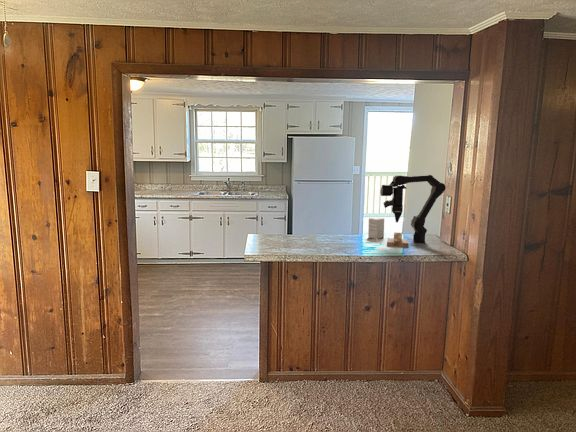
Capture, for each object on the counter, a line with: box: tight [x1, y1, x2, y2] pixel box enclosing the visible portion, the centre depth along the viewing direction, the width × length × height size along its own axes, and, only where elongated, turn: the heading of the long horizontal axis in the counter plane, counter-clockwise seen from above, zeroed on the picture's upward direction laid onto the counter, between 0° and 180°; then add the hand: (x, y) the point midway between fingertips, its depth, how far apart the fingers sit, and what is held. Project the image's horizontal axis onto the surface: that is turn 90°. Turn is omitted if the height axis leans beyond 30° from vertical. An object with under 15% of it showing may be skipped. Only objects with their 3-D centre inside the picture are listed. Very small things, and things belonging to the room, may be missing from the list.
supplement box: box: [367, 216, 385, 240], centre depth 271 cm, size 7×7×13 cm
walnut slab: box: [386, 237, 409, 248], centre depth 250 cm, size 12×12×3 cm
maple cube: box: [393, 232, 403, 242], centre depth 249 cm, size 4×4×4 cm
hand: (396, 221), depth 256 cm, fingers open, 9 cm apart
